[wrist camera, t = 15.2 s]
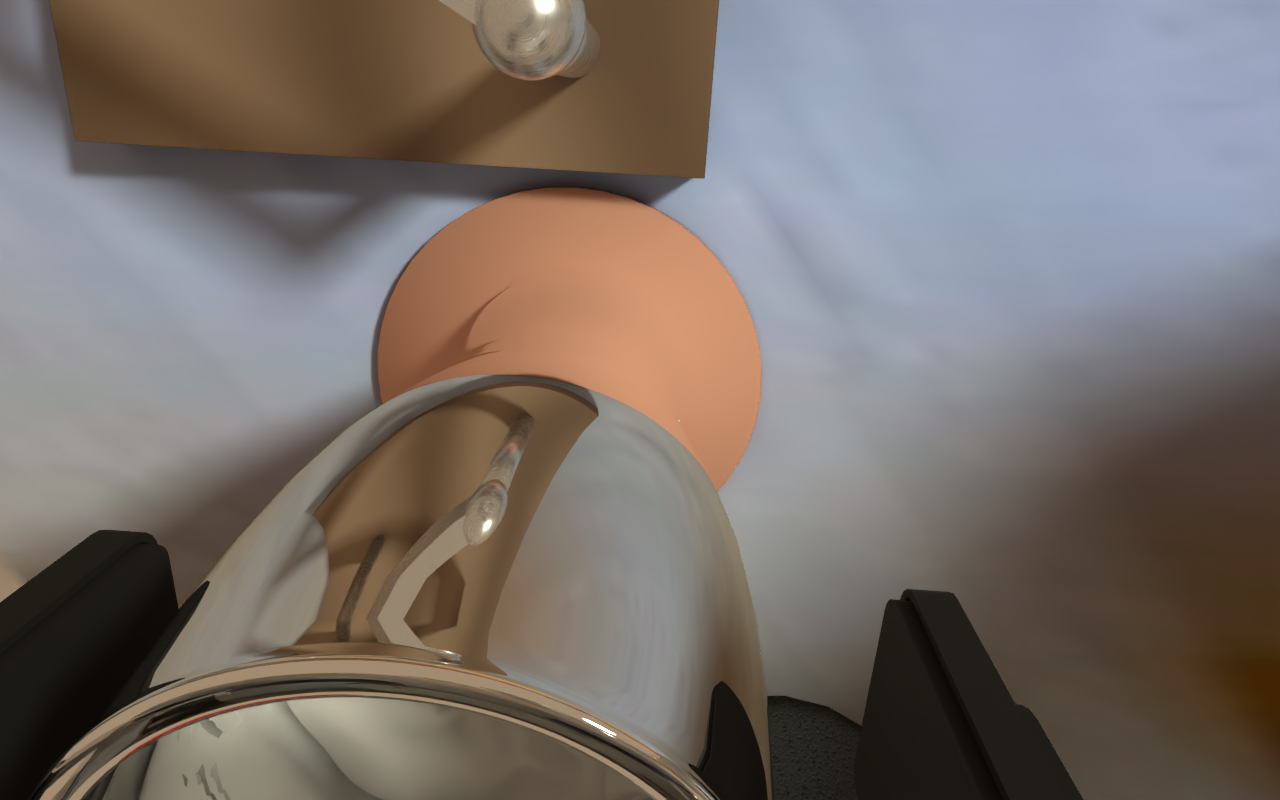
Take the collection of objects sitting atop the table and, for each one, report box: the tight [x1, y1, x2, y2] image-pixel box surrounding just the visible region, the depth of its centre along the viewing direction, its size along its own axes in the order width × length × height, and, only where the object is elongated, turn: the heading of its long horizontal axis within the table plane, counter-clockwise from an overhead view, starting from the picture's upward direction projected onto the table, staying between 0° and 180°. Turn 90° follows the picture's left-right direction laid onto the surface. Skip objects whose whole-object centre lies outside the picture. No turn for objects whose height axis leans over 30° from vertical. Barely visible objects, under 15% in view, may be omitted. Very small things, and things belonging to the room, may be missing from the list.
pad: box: [378, 187, 762, 491], centre depth 21 cm, size 10×10×1 cm
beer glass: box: [28, 271, 775, 800], centre depth 14 cm, size 7×7×15 cm
